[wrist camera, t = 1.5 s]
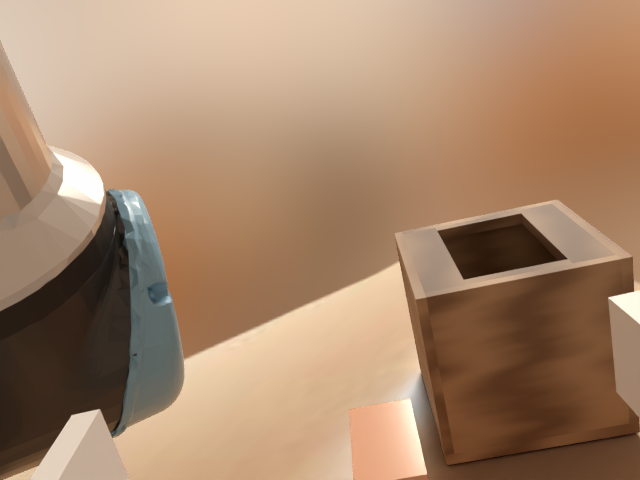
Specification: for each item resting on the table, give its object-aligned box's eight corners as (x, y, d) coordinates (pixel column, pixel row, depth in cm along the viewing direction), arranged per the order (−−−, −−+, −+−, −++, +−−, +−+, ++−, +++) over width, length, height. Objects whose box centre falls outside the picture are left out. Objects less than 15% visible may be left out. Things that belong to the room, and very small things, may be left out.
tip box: (446, 465, 37) (415, 299, 33) (420, 368, 47) (394, 233, 43) (639, 432, 36) (632, 256, 32) (569, 340, 46) (557, 199, 42)
